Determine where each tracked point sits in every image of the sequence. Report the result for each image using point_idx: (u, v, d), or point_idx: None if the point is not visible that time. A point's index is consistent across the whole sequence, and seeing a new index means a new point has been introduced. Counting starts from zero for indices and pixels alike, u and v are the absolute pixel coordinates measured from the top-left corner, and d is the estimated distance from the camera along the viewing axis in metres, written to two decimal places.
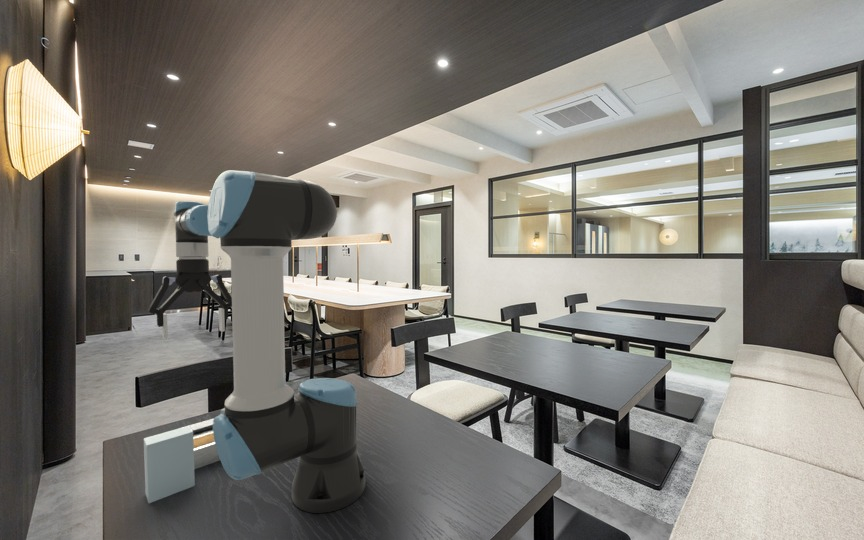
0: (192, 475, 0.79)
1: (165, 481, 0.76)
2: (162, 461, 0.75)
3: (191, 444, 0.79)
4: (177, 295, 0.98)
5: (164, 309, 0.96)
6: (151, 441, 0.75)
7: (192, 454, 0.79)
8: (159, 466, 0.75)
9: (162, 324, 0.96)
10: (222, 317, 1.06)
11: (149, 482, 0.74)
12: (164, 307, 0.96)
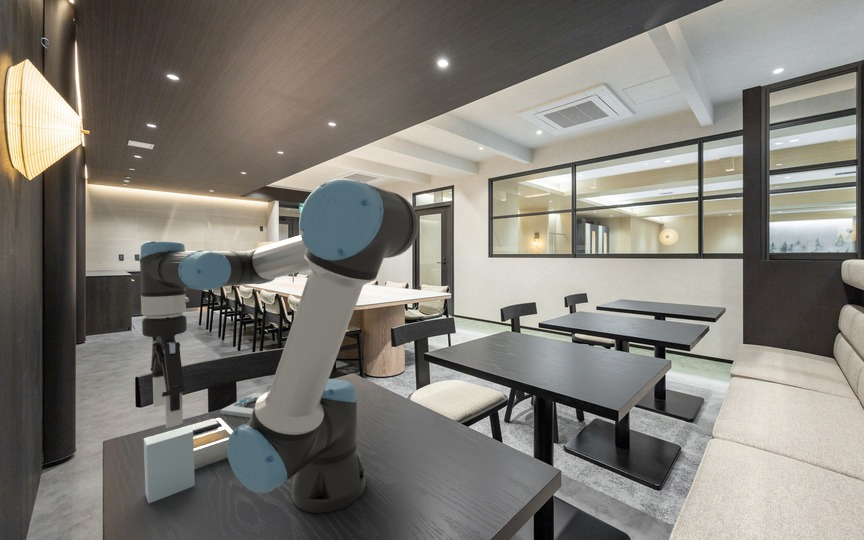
0: (192, 475, 0.79)
1: (165, 481, 0.76)
2: (162, 461, 0.75)
3: (191, 444, 0.79)
4: (155, 359, 0.79)
5: (153, 371, 0.81)
6: (151, 441, 0.75)
7: (192, 454, 0.79)
8: (159, 466, 0.75)
9: None
10: (165, 406, 0.72)
11: (149, 482, 0.74)
12: (153, 369, 0.81)
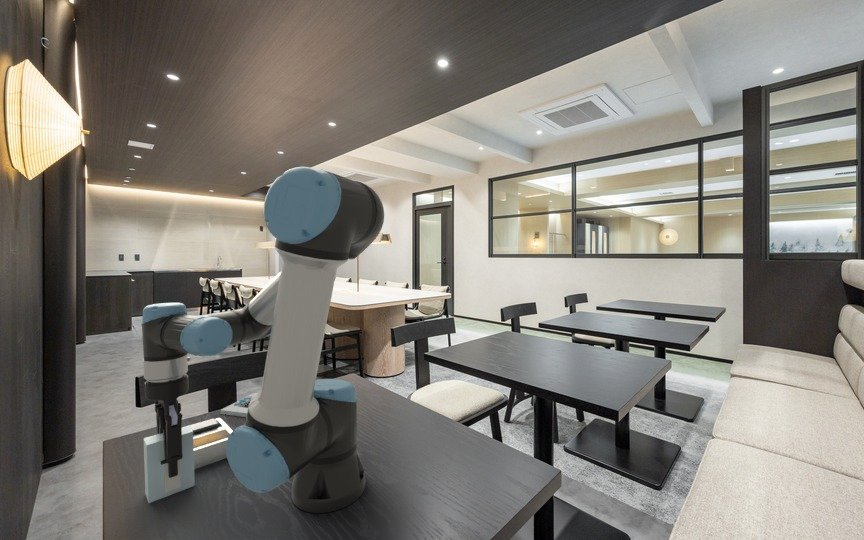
0: (192, 475, 0.79)
1: None
2: None
3: (191, 444, 0.79)
4: (159, 425, 0.78)
5: None
6: (151, 441, 0.75)
7: (192, 454, 0.79)
8: (159, 466, 0.75)
9: None
10: (164, 473, 0.75)
11: (149, 482, 0.74)
12: None
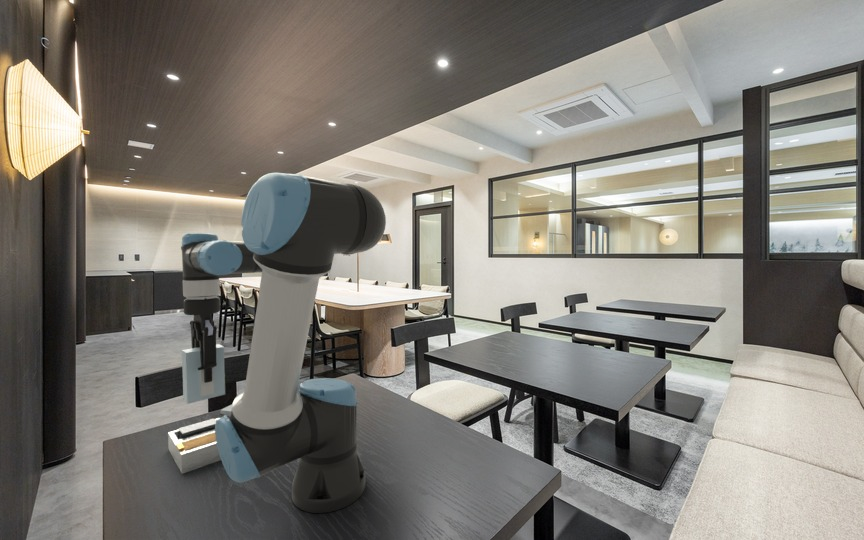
0: (223, 385, 0.91)
1: None
2: None
3: (222, 357, 0.91)
4: (195, 340, 0.90)
5: None
6: (189, 351, 0.86)
7: (223, 366, 0.91)
8: (196, 373, 0.87)
9: None
10: (200, 379, 0.87)
11: (188, 385, 0.85)
12: None
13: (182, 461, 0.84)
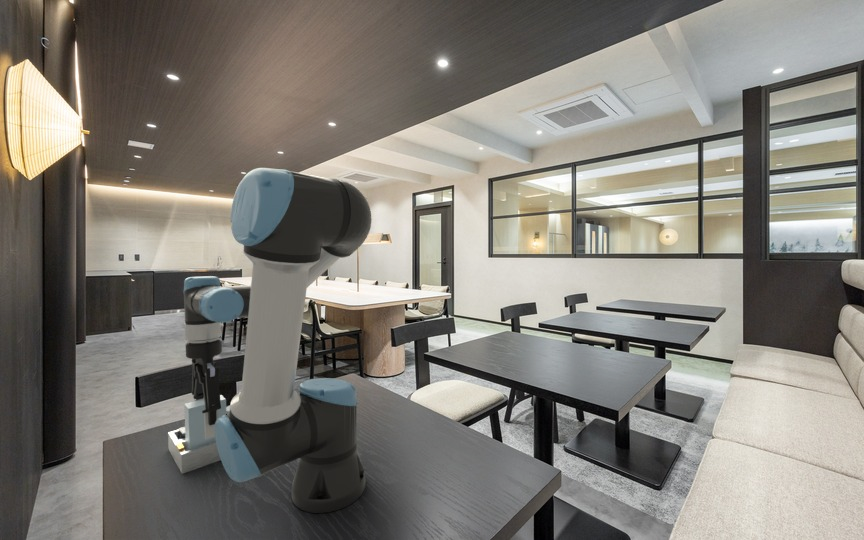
0: None
1: (203, 440, 0.88)
2: (201, 423, 0.88)
3: (224, 410, 0.91)
4: (196, 380, 0.91)
5: (194, 394, 0.93)
6: (191, 406, 0.87)
7: None
8: (198, 427, 0.87)
9: None
10: (204, 421, 0.86)
11: (190, 440, 0.86)
12: (194, 392, 0.93)
13: (182, 461, 0.84)
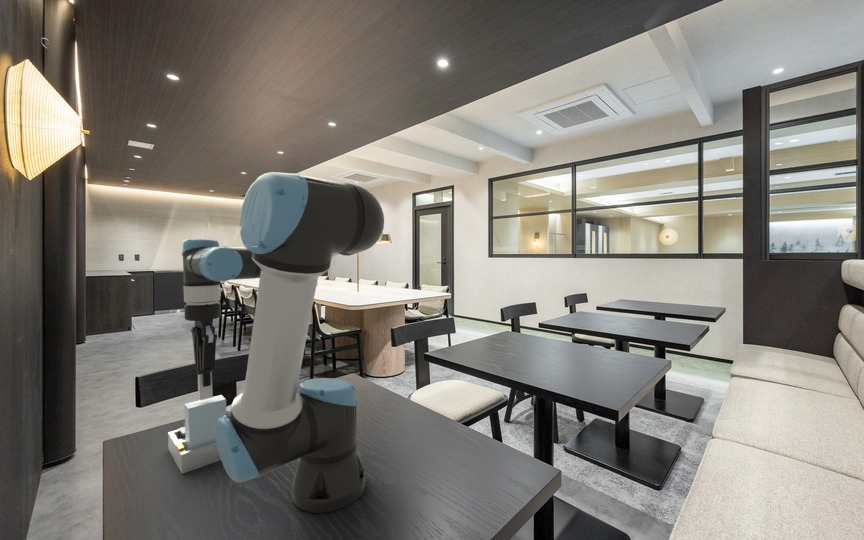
0: None
1: (203, 440, 0.88)
2: (201, 423, 0.88)
3: (224, 410, 0.91)
4: (197, 346, 0.89)
5: (197, 365, 0.90)
6: (191, 406, 0.87)
7: None
8: (198, 427, 0.87)
9: None
10: (199, 383, 0.89)
11: (190, 440, 0.86)
12: (197, 363, 0.90)
13: (182, 461, 0.84)
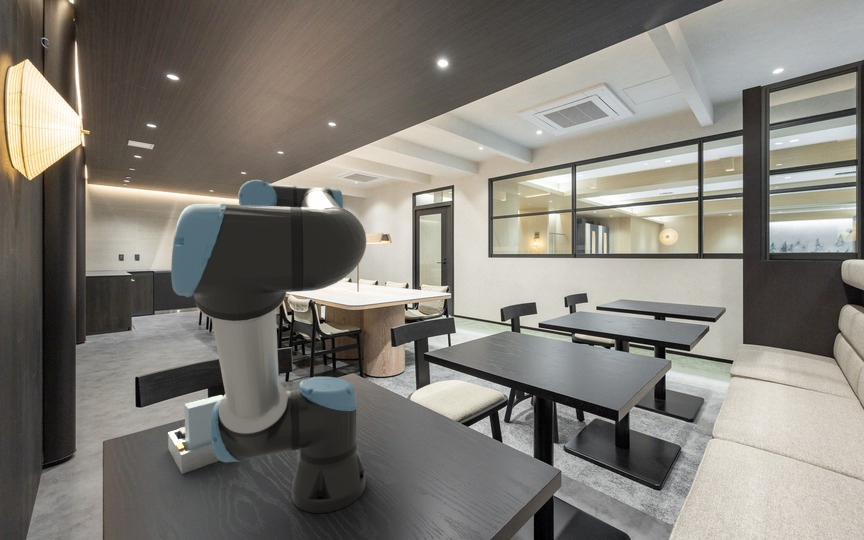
0: None
1: (203, 440, 0.88)
2: (201, 423, 0.88)
3: None
4: None
5: None
6: (191, 406, 0.87)
7: None
8: (198, 427, 0.87)
9: None
10: None
11: (190, 440, 0.86)
12: None
13: (182, 461, 0.84)
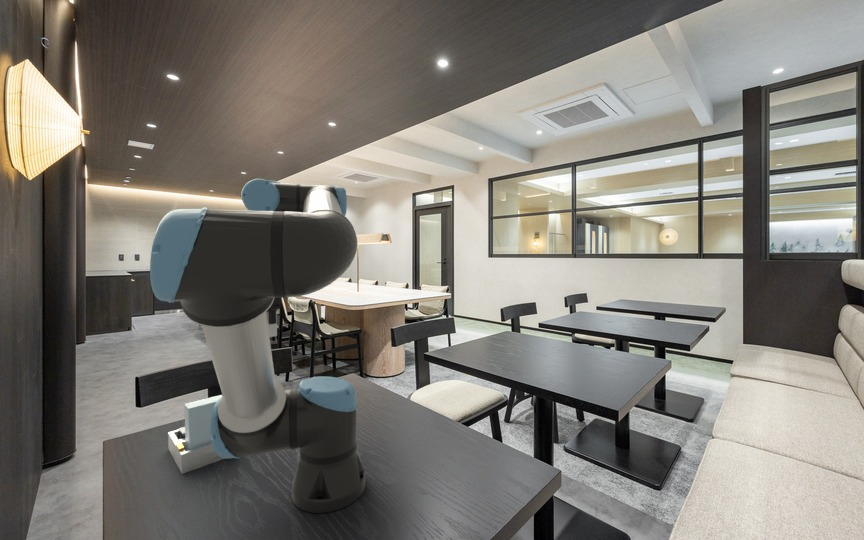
0: None
1: (203, 440, 0.88)
2: (201, 423, 0.88)
3: None
4: None
5: None
6: (191, 406, 0.87)
7: None
8: (198, 427, 0.87)
9: None
10: None
11: (190, 440, 0.86)
12: None
13: (182, 461, 0.84)
